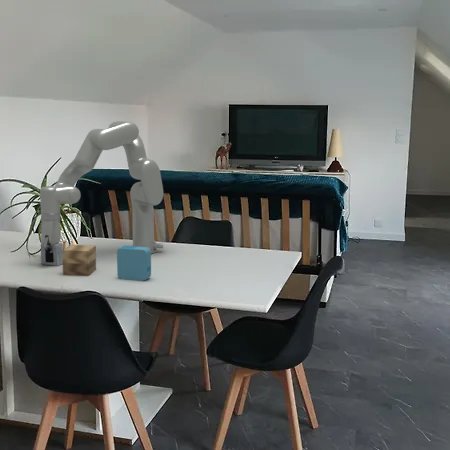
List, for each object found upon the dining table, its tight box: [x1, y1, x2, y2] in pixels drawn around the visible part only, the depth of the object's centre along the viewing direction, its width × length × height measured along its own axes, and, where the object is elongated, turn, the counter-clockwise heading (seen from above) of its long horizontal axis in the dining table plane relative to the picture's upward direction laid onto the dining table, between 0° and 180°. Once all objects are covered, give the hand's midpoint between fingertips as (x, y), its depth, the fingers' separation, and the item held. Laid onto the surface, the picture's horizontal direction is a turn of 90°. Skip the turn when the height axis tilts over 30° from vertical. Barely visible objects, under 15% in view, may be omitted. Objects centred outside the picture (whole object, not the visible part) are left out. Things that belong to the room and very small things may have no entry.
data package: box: [116, 245, 152, 281], centre depth 224 cm, size 12×4×12 cm, turn 75°
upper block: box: [62, 244, 97, 264], centre depth 231 cm, size 10×10×5 cm
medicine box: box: [40, 242, 64, 267], centre depth 244 cm, size 8×4×9 cm, turn 71°
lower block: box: [62, 258, 97, 277], centre depth 232 cm, size 10×10×5 cm
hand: (52, 259), depth 244 cm, fingers closed on medicine box, 5 cm apart
